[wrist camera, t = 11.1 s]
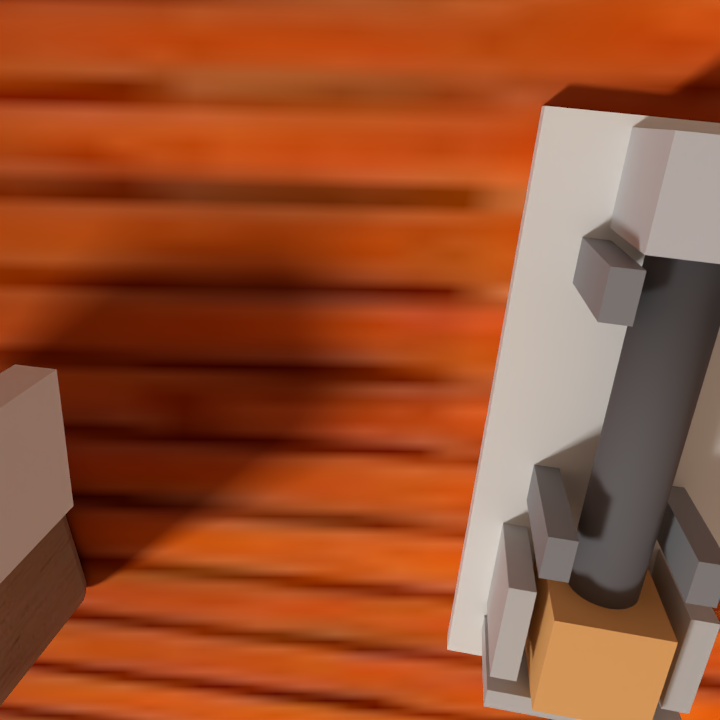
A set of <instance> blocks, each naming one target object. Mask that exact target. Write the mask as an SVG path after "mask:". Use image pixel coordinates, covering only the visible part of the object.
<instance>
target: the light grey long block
mask: <svg viewBox="0 0 720 720" xmlns="http://www.w3.org/2000/svg"><path fill="white" fill-rule="evenodd" d="M632 127H635V128H649V129H663V130H677V131H687V132H697V133H707V134H716V135H720V123H714V122H704V121H694V120H684V119H674V118H664V117H654V116H644V115H634V114H624V113H614V112H604V111H594V110H584V109H573V108H563V107H553V106H542V109H541V114H540V120H539V126H538V131H537V137H536V142H535V148H534V154H533V159H532V165H531V170H530V176H529V182H528V187H527V193H526V198H525V204H524V210H523V215H522V221H521V226H520V232H519V238H518V243H517V249H516V254H515V260H514V266H513V271H512V277H511V282H510V288H509V294H508V299H507V305H506V310H505V316H504V322H503V327H502V333H501V338H500V344H499V350H498V355H497V361H496V366H495V372H494V378H493V383H492V389H491V394H490V400H489V406H488V411H487V417H486V422H485V428H484V434H483V439H482V445H481V450H480V456H479V462H478V467H477V473H476V478H475V484H474V490H473V495H472V501H471V506H470V512H469V518H468V523H467V529H466V534H465V540H464V546H463V551H462V557H461V562H460V568H459V574H458V579H457V585H456V590H455V596H454V602H453V607H452V613H451V618H450V624H449V630H448V640H447V650H453V651H458V652H463V653H469V654H474V655H480V656H482V666H483V699H484V706H486V707H491V708H497V709H502V710H507V711H512V712H517V713H523V714H528V715H533V716H538V717H543V718H549V719H554V720H580V719H575V718H570V717H565V716H560V715H554V714H549V713H544V712H539V711H533V710H532V703H531V694H530V685H529V676H528V668H527V659H526V650H525V642H526V638H527V633H528V629H529V625H530V620H531V616H532V612H533V608H534V603H535V599H536V595H537V590H536V583H535V576H534V570H533V565H534V561H535V557H536V563H537V570H538V576H539V578H543V579H549V580H555V581H561V582H566V583H569V579H570V575H571V571H572V567H573V563H574V559H575V555H576V551H577V547H578V543H579V540H578V537H577V533H576V532H577V528H578V524H579V520H580V516H581V512H582V508H583V504H584V500H585V495H586V491H587V487H588V483H589V479H590V475H591V471H592V467H593V463H594V459H595V455H596V451H597V447H598V443H599V439H600V435H601V431H602V427H603V423H604V419H605V414H606V410H607V406H608V402H609V398H610V394H611V390H612V386H613V382H614V378H615V374H616V370H617V366H618V362H619V358H620V354H621V350H622V346H623V342H624V338H625V334H626V329H627V326H631V327H633V323H634V319H635V315H636V311H637V307H638V303H639V299H640V295H641V291H642V287H643V283H644V279H645V275H646V270H645V269H644V268H643V267H642V265H643V261H644V257H645V255H644V254H643V253H641V252H640V251H639V250H638V249H636V248H635V247H634V246H633V245H631V244H630V243H629V242H627V241H626V240H625V239H624V238H622V237H621V236H620V235H618V234H617V233H616V232H615V231H613V230H612V229H611V228H610V223H611V219H612V214H613V210H614V205H615V201H616V196H617V192H618V188H619V183H620V179H621V174H622V170H623V165H624V161H625V156H626V152H627V148H628V143H629V139H630V134H631V130H632ZM648 569H649V572H650V574H651V577H652V579H653V582H654V584H655V587H656V589H657V592H658V594H659V597H660V599H661V601H662V604H663V606H664V609H665V611H666V614H667V616H668V619H669V621H670V624H671V626H672V629H673V631H674V634H675V636H676V639H677V641H678V644H677V647H676V650H675V653H674V656H673V659H672V662H671V665H670V668H669V671H668V674H667V677H666V680H665V683H664V686H663V689H662V692H661V695H660V698H659V701H658V704H657V707H656V710H655V713H654V716H653V719H652V720H681V717H680V714H679V712H682V713H687V714H689V712H690V709H691V706H692V703H693V701H694V698H695V695H696V692H697V689H698V687H699V684H700V681H701V678H702V675H703V673H704V670H705V667H706V664H707V661H708V659H709V656H710V653H711V650H712V647H713V645H714V642H715V639H716V636H717V633H718V631H719V628H720V622H719V620H718V618H717V616H716V614H715V612H714V610H713V608H717V606H718V603H719V600H720V328H719V331H718V335H717V338H716V341H715V345H714V348H713V351H712V355H711V358H710V361H709V365H708V368H707V372H706V375H705V378H704V382H703V385H702V388H701V392H700V395H699V398H698V402H697V405H696V408H695V412H694V415H693V419H692V422H691V425H690V429H689V432H688V435H687V439H686V442H685V445H684V449H683V452H682V455H681V459H680V462H679V466H678V469H677V472H676V476H675V479H674V482H673V486H672V489H671V492H670V496H669V499H668V502H667V506H666V509H665V513H664V516H663V519H662V523H661V526H660V529H659V533H658V536H657V539H656V543H655V546H654V549H653V553H652V556H651V560H650V563H649V566H648ZM712 607H713V608H712Z"/></svg>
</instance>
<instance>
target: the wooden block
mask: <svg viewBox="0 0 720 720" xmlns="http://www.w3.org/2000/svg"><path fill="white" fill-rule="evenodd" d="M85 593H86V579H85V576H84V573H83V570H82V566H81V563H80V560H79V557H78V553H77V550H76V547H75V544H74V541H73V537H72V534H71V531H70V528H69V524H68V521H67V518H66V515H64V517H63V518H62V519H61V520H60V521H59V522H58V523H57V524H56V525H55V526H54V527H53V528H52V529H51V530H50V531H49V532H48V533H47V535H46V536H45V537H44V538H43V539H42V540H41V541H40V542H39V543H38V544H37V545H36V546H35V547H34V548H33V549H32V550H31V551H30V552H29V554H28V555H27V556H26V557H25V558H24V559H23V560H22V561H21V562H20V563H19V564H18V565H17V566H16V567H15V568H14V569H13V570H12V572H11V573H10V574H9V575H8V576H7V577H6V578H5V579H4V580H3V581H2V582H1V583H0V705H1V704H2V703H3V702H4V700H5V699H6V698H7V697H8V695H9V694H10V693H11V691H12V690H13V689H14V688H15V686H16V685H17V684H18V683H19V681H20V680H21V679H22V678H23V676H24V675H25V674H26V672H27V671H28V670H29V669H30V667H31V666H32V665H33V664H34V662H35V661H36V660H37V658H38V657H39V656H40V655H41V653H42V652H43V651H44V650H45V648H46V647H47V646H48V645H49V643H50V642H51V641H52V639H53V638H54V637H55V636H56V634H57V633H58V632H59V631H60V629H61V628H62V627H63V625H64V624H65V623H66V622H67V620H68V619H69V618H70V617H71V615H72V614H73V613H74V611H75V610H76V609H77V608H78V606H79V605H80V604H81V603H82V601H83V600H84V597H85Z"/></svg>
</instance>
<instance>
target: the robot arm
mask: <svg viewBox="0 0 720 720" xmlns="http://www.w3.org/2000/svg"><path fill="white" fill-rule="evenodd" d="M73 506H74V505H73V497H72V489H71V481H70V473H69V465H68V457H67V448H66V440H65V432H64V424H63V416H62V408H61V400H60V392H59V384H58V376H57V369H50V368H41V367H32V366H24V365H13V366H12V367H10V368H8V369H7V370H5V371H3V372H2V373H0V583H1V582H2V581H3V580H4V579H5V578H6V577H7V576H8V575H9V574H10V573H11V572H12V570H13V569H14V568H15V567H16V566H17V565H18V564H19V563H20V562H21V561H22V560H23V559H24V558H25V557H26V556H27V555H28V554H29V552H30V551H31V550H32V549H33V548H34V547H35V546H36V545H37V544H38V543H39V542H40V541H41V540H42V539H43V538H44V537H45V536H46V535H47V533H48V532H49V531H50V530H51V529H52V528H53V527H54V526H55V525H56V524H57V523H58V522H59V521H60V520H61V519H62V518H63V517H64V515H65V514H66V513H67V512H68V511H69V510H70V509H71V508H72V507H73Z"/></svg>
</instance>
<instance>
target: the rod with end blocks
mask: <svg viewBox="0 0 720 720" xmlns="http://www.w3.org/2000/svg"><path fill="white" fill-rule="evenodd" d="M610 228H611V229H612V230H613V231H615V232H616V233H617V234H618V235H620V236H621V237H622V238H624V239H625V240H626V241H627V242H629V243H630V244H631V245H633V246H634V247H635V248H636V249H638V250H639V251H640V252H641V253H643V254H644V255H645V257H644V261H643V265H642V267H643V268H644V269H645V270H646V275H645V279H644V283H643V287H642V291H641V295H640V299H639V303H638V307H637V311H636V315H635V319H634V323H633V327H631V326H627V329H626V334H625V338H624V342H623V346H622V350H621V354H620V358H619V362H618V366H617V370H616V374H615V378H614V382H613V386H612V390H611V394H610V398H609V402H608V406H607V410H606V414H605V419H604V423H603V427H602V431H601V435H600V439H599V443H598V447H597V451H596V455H595V459H594V463H593V467H592V471H591V475H590V479H589V483H588V487H587V491H586V495H585V500H584V504H583V508H582V512H581V516H580V520H579V524H578V528H577V532H576V533H577V537H578V540H579V543H578V547H577V551H576V555H575V559H574V563H573V567H572V571H571V575H570V579H569V583H566V582H561V581H555V580H549V579H543V578H539V576H538V570H537V563H536V557H535V561H534V565H533V570H534V576H535V583H536V590H537V595H536V599H535V603H534V608H533V612H532V616H531V620H530V625H529V629H528V633H527V638H526V642H525V650H526V659H527V668H528V676H529V685H530V694H531V703H532V710H533V711H539V712H544V713H549V714H554V715H560V716H565V717H570V718H575V719H580V720H652V719H653V716H654V713H655V710H656V707H657V704H658V701H659V698H660V695H661V692H662V689H663V686H664V683H665V680H666V677H667V674H668V671H669V668H670V665H671V662H672V659H673V656H674V653H675V650H676V647H677V644H678V641H677V639H676V636H675V634H674V631H673V629H672V626H671V624H670V621H669V619H668V616H667V614H666V611H665V609H664V606H663V604H662V601H661V599H660V597H659V594H658V592H657V589H656V587H655V584H654V582H653V579H652V577H651V574H650V572H649V569H648V566H649V563H650V560H651V556H652V553H653V549H654V546H655V543H656V539H657V536H658V533H659V529H660V526H661V523H662V519H663V516H664V513H665V509H666V506H667V502H668V499H669V496H670V492H671V489H672V486H673V482H674V479H675V476H676V472H677V469H678V466H679V462H680V459H681V455H682V452H683V449H684V445H685V442H686V439H687V435H688V432H689V429H690V425H691V422H692V419H693V415H694V412H695V408H696V405H697V402H698V398H699V395H700V392H701V388H702V385H703V382H704V378H705V375H706V372H707V368H708V365H709V361H710V358H711V355H712V351H713V348H714V345H715V341H716V338H717V335H718V331H719V328H720V135H716V134H707V133H697V132H687V131H677V130H663V129H649V128H635V127H632V130H631V134H630V139H629V143H628V148H627V152H626V156H625V161H624V165H623V170H622V174H621V179H620V183H619V188H618V192H617V196H616V201H615V205H614V210H613V214H612V219H611V223H610Z"/></svg>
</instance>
